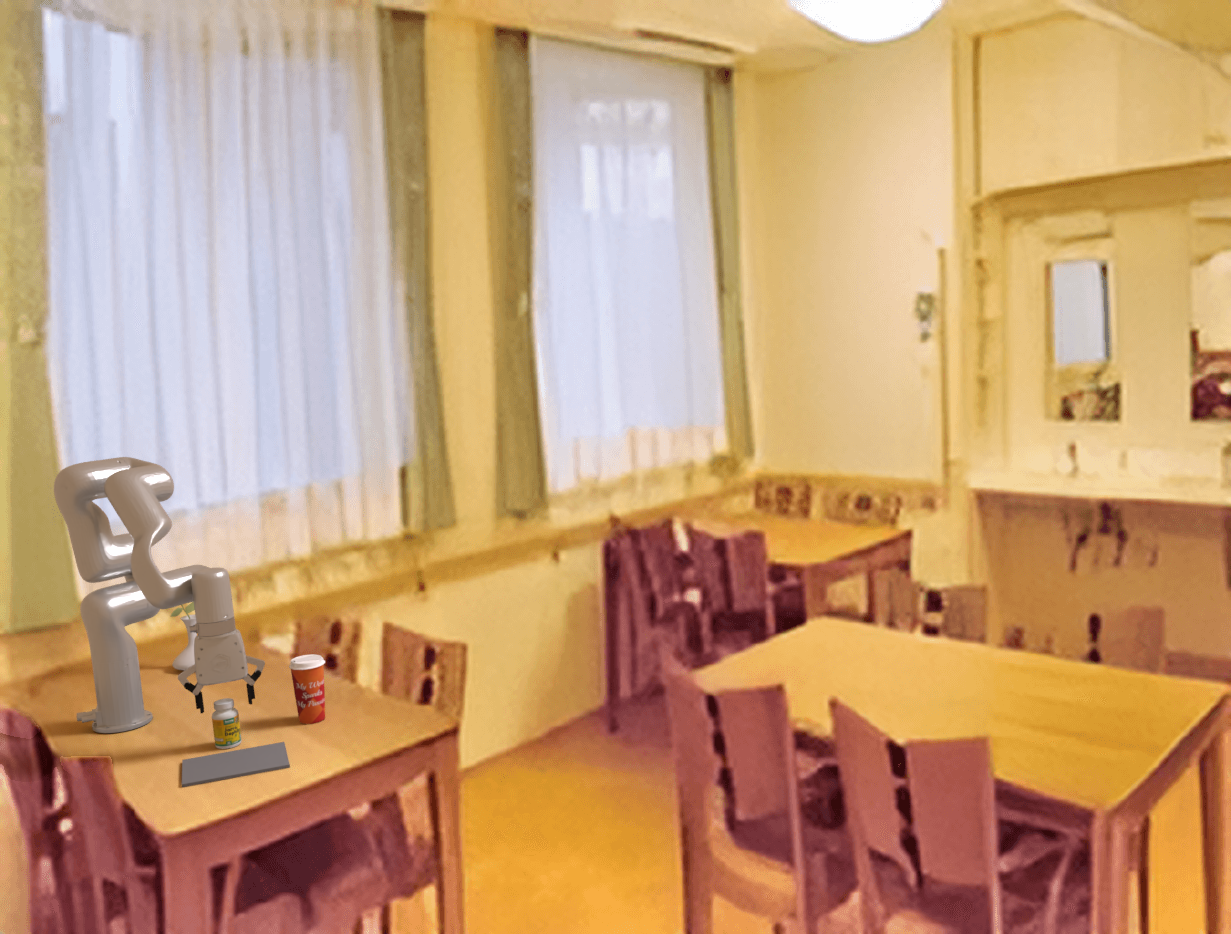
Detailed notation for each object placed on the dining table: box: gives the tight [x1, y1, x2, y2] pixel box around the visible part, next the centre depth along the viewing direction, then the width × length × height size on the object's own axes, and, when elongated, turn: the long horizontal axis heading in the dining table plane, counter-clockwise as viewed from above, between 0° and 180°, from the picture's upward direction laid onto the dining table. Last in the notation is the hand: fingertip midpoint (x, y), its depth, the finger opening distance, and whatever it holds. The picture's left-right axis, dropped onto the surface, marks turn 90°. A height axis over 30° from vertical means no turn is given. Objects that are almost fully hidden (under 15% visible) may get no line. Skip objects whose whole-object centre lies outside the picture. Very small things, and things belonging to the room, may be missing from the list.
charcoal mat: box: [181, 741, 291, 788], centre depth 225 cm, size 20×14×1 cm
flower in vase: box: [170, 602, 198, 671], centre depth 294 cm, size 13×11×25 cm
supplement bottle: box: [211, 697, 242, 750], centre depth 236 cm, size 5×5×10 cm
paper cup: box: [288, 653, 326, 725], centre depth 248 cm, size 8×8×14 cm
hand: (226, 707), depth 235 cm, fingers open, 9 cm apart
